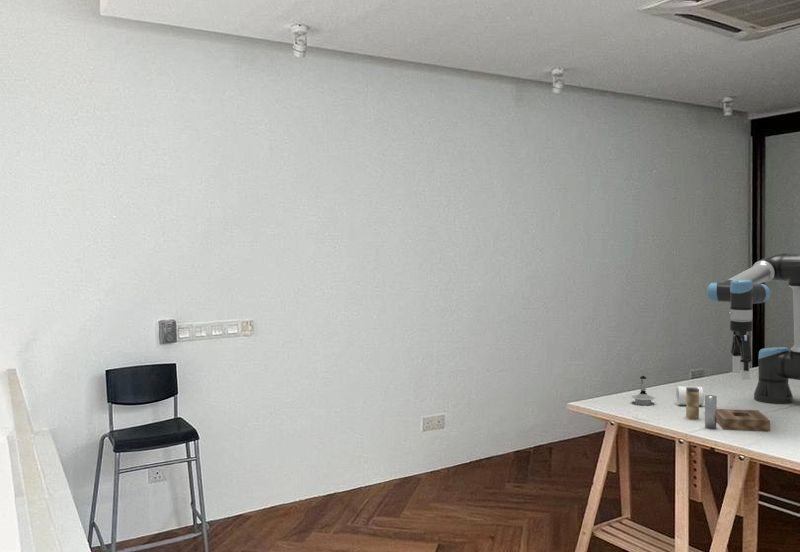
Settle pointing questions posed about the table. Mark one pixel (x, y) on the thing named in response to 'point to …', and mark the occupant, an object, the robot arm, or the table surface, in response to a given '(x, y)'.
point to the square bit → (692, 402)
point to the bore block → (742, 420)
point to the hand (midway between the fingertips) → (740, 376)
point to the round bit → (710, 411)
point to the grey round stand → (643, 396)
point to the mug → (682, 395)
